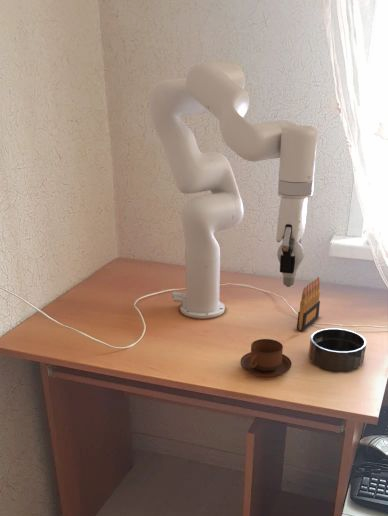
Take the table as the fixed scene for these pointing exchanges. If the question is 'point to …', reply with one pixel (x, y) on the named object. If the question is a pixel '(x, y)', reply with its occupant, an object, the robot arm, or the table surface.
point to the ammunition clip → (309, 305)
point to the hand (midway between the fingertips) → (289, 267)
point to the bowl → (337, 349)
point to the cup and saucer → (266, 359)
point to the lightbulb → (299, 255)
